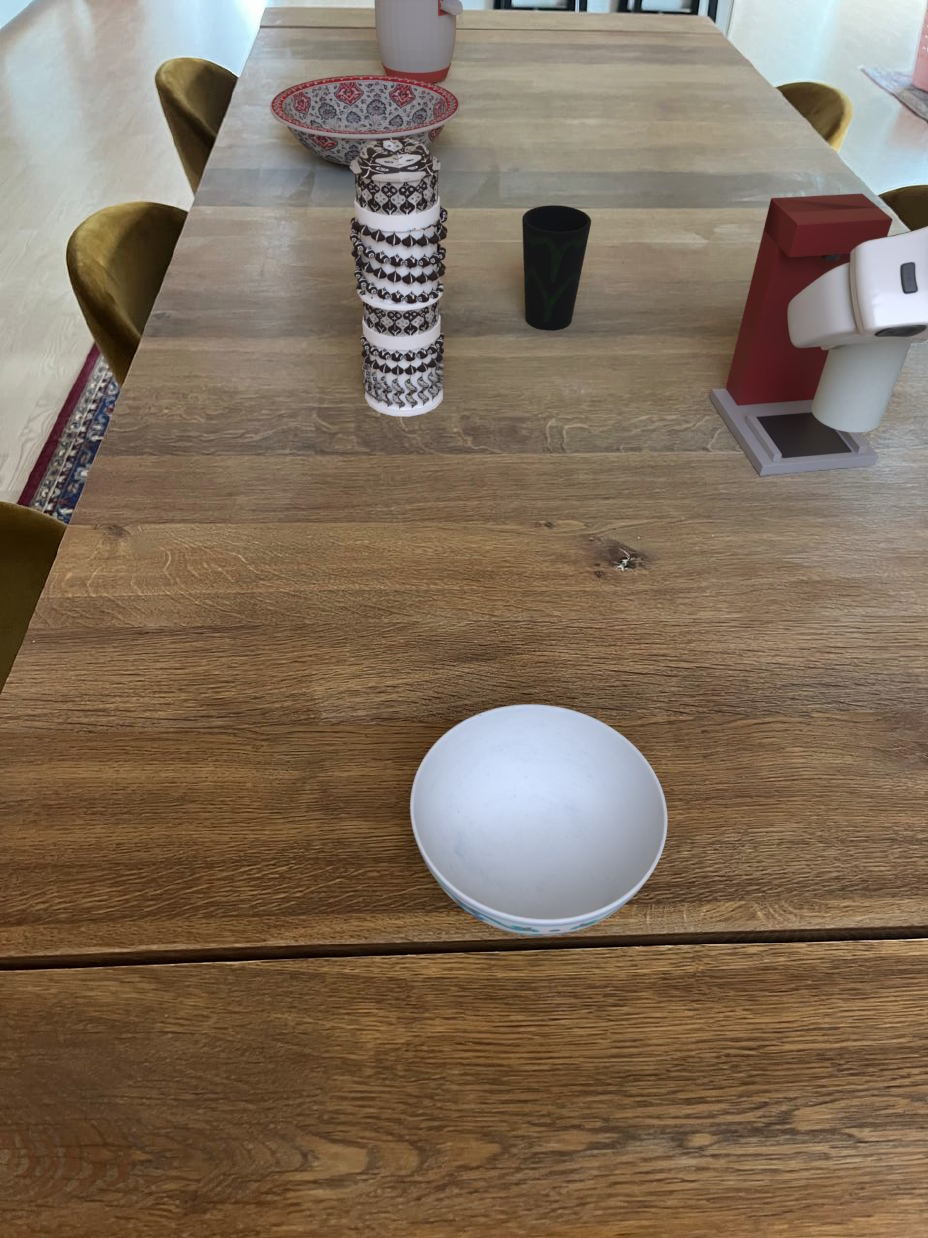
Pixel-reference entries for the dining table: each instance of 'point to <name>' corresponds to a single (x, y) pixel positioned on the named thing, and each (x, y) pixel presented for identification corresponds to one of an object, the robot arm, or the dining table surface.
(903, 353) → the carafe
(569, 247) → the cup
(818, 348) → the coffee machine
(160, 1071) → the dining table surface
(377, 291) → the stacked patterned cylinder
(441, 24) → the citrus juicer
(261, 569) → the dining table surface
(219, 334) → the dining table surface
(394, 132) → the ceramic bowl
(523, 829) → the chinaware
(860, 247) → the robot arm
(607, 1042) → the dining table surface
